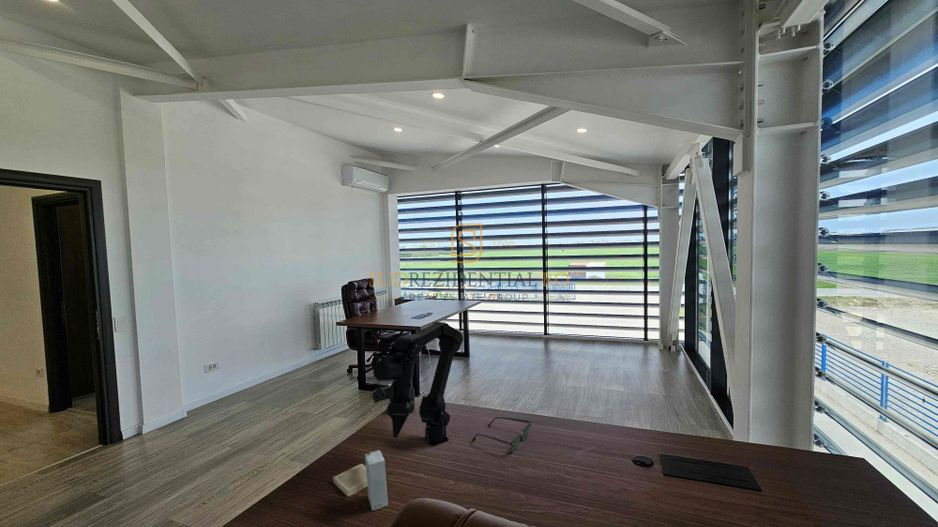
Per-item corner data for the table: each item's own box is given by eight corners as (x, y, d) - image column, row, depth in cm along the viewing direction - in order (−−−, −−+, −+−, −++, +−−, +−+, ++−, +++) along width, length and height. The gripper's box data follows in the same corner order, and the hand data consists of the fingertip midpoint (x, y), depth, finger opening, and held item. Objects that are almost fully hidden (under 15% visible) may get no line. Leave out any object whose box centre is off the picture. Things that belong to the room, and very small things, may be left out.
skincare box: (388, 505, 93) (386, 460, 93) (371, 512, 91) (368, 465, 91) (383, 491, 98) (381, 448, 98) (366, 497, 97) (364, 453, 96)
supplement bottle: (411, 414, 145) (410, 385, 144) (395, 413, 146) (394, 385, 146) (417, 407, 151) (416, 379, 151) (402, 406, 153) (401, 378, 152)
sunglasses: (491, 424, 135) (490, 411, 135) (533, 434, 126) (532, 420, 126) (467, 444, 121) (467, 430, 121) (513, 458, 112) (512, 442, 112)
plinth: (361, 468, 110) (361, 463, 110) (377, 480, 103) (377, 475, 103) (333, 482, 103) (333, 477, 103) (348, 496, 97) (347, 491, 97)
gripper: (379, 372, 118) (372, 422, 115) (372, 381, 100) (364, 440, 97) (413, 375, 120) (407, 425, 117) (412, 384, 101) (405, 443, 99)
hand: (396, 432), depth 107 cm, fingers open, 9 cm apart
